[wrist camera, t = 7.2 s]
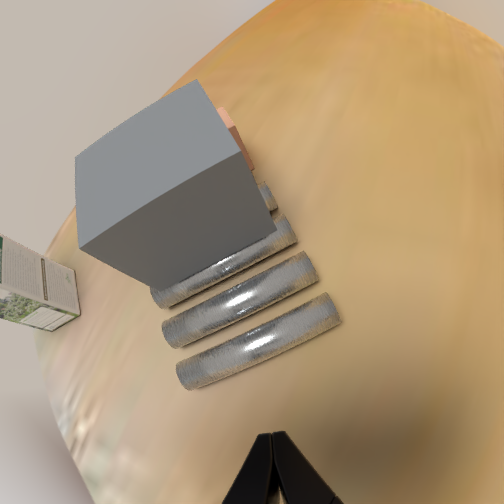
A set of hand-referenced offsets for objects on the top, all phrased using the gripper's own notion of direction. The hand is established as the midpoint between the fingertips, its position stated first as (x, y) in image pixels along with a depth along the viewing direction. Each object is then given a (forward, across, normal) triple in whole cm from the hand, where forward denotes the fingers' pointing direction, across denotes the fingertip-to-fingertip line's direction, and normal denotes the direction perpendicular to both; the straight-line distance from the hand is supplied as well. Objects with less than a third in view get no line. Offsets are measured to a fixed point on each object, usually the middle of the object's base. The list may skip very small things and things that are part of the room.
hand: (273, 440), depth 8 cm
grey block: (+17, +4, -6) cm, 19 cm away
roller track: (+16, +2, 0) cm, 17 cm away
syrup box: (+21, +22, +1) cm, 30 cm away
